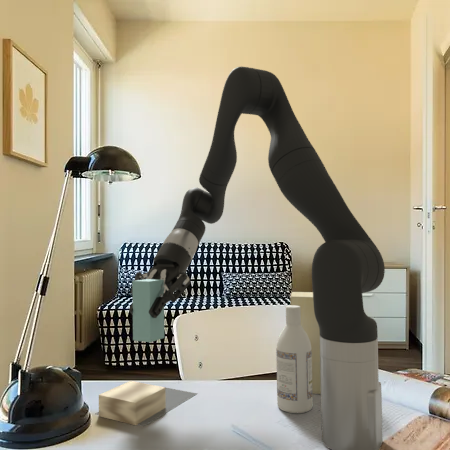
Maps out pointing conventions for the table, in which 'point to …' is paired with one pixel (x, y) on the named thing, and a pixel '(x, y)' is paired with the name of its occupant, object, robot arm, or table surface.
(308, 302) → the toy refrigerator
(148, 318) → the pillar
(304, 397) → the bath foam
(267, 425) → the table surface
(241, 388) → the table surface
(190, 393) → the mat
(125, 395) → the base block
